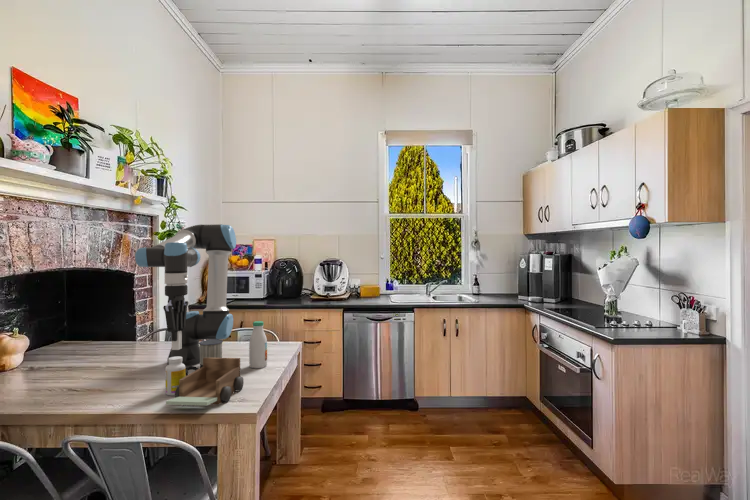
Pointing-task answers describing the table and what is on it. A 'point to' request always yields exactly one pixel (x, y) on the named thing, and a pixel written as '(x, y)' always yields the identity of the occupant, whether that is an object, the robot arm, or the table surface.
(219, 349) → the milk frother
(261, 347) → the milk bottle
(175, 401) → the panel
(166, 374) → the supplement bottle
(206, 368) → the tray
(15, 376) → the table surface
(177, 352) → the robot arm
